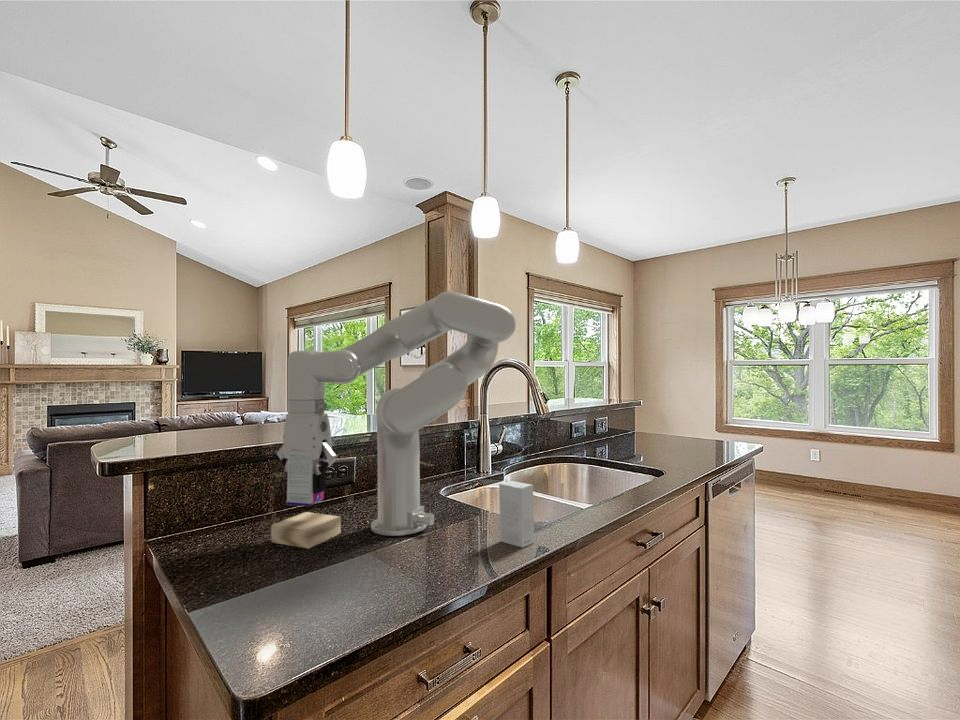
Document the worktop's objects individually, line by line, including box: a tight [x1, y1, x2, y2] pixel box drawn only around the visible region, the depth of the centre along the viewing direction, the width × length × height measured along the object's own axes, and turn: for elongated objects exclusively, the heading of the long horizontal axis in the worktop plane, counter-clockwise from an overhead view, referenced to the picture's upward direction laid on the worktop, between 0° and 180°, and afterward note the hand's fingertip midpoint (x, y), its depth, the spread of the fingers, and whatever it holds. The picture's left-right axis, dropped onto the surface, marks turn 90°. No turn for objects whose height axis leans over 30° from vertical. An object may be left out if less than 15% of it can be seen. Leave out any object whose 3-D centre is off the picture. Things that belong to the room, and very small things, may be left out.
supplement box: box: [286, 450, 325, 507], centre depth 106 cm, size 6×6×12 cm
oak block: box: [270, 511, 342, 550], centre depth 106 cm, size 10×10×4 cm
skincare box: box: [498, 480, 535, 549], centre depth 101 cm, size 6×4×12 cm
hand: (306, 489), depth 106 cm, fingers closed on supplement box, 6 cm apart
